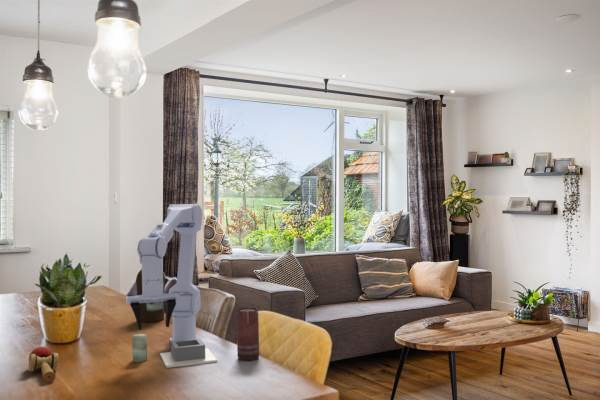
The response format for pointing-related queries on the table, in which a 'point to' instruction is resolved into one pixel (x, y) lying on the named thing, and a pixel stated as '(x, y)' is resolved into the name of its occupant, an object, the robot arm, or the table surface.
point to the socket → (187, 353)
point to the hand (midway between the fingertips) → (153, 327)
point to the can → (247, 334)
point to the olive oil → (150, 304)
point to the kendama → (44, 362)
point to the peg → (139, 347)
